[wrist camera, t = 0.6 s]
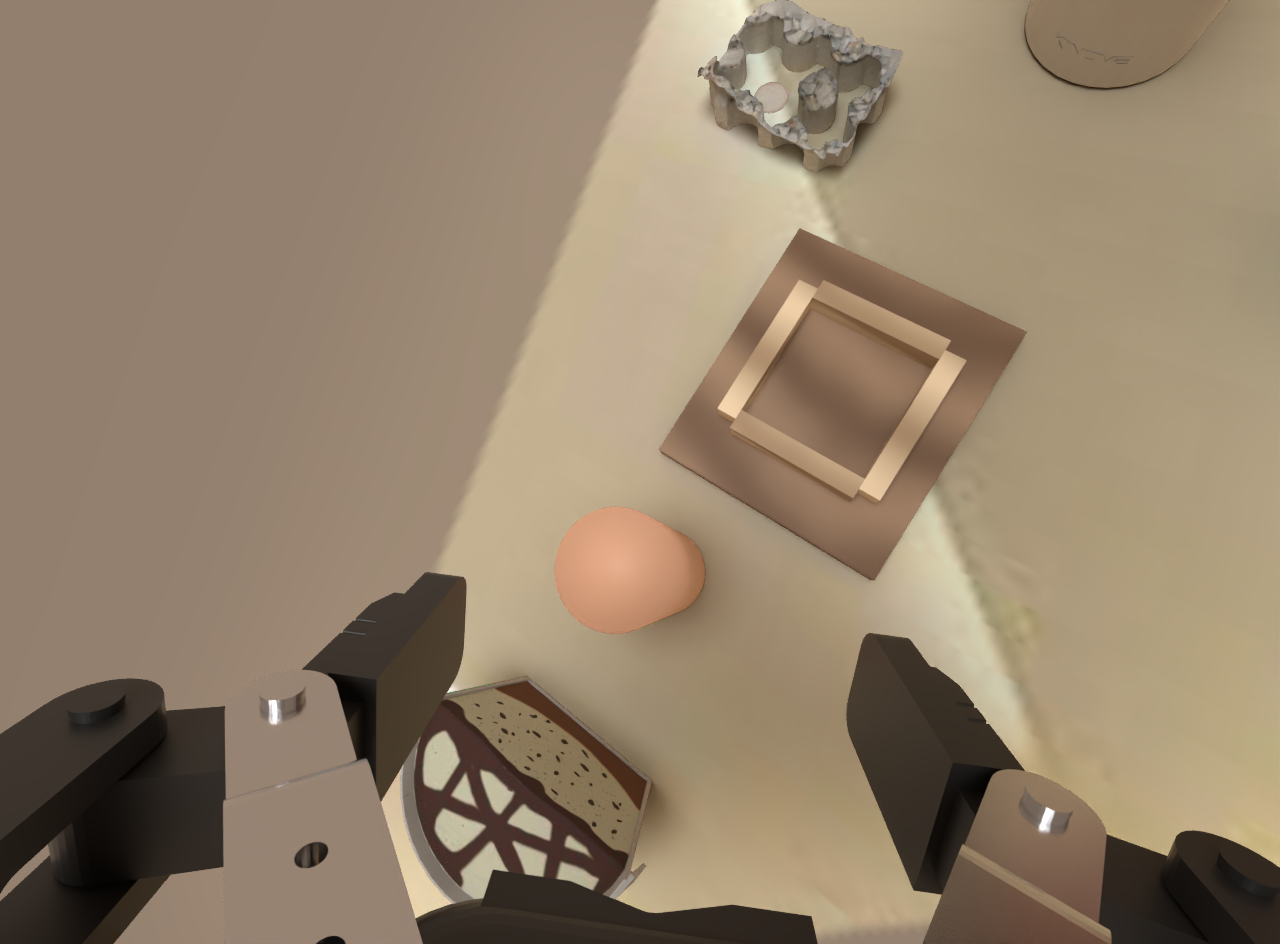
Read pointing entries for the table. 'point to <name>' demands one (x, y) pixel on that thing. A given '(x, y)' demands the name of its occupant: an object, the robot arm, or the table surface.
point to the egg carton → (818, 92)
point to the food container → (519, 794)
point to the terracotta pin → (626, 570)
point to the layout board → (841, 399)
